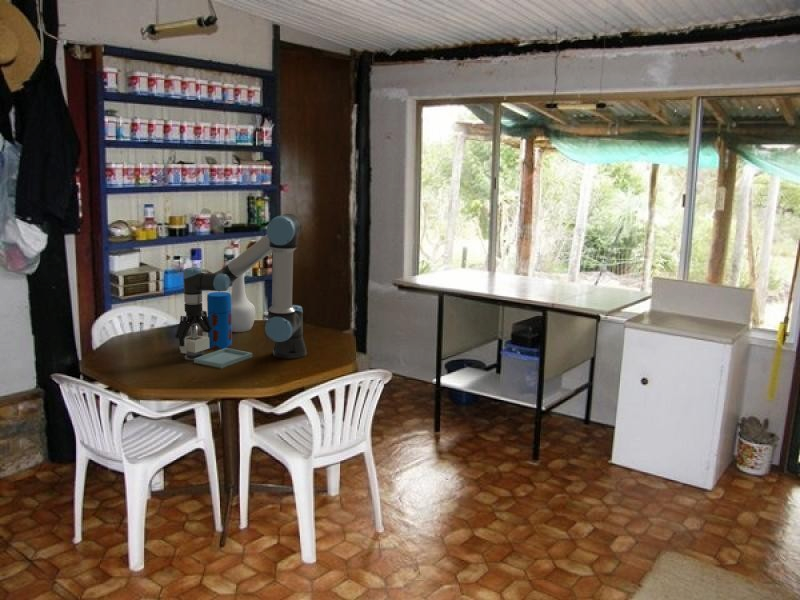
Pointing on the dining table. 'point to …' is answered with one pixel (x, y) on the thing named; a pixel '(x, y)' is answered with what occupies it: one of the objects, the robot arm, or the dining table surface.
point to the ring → (197, 344)
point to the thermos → (220, 319)
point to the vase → (241, 307)
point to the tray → (223, 358)
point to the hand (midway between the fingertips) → (194, 349)
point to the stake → (193, 337)
